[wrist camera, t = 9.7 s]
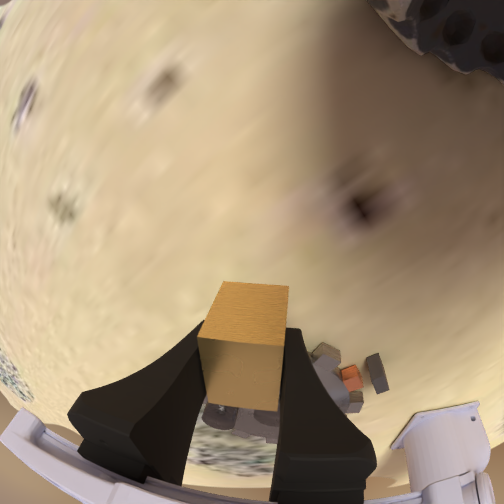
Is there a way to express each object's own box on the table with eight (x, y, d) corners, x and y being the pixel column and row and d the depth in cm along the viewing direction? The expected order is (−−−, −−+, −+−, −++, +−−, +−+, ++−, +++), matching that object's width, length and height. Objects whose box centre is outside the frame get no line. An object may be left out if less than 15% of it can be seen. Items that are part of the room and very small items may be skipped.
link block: (223, 281, 13) (197, 336, 9) (288, 285, 13) (284, 346, 9) (227, 345, 15) (208, 402, 11) (283, 350, 14) (277, 411, 11)
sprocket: (242, 301, 18) (226, 350, 14) (396, 376, 19) (408, 420, 15) (176, 398, 24) (160, 435, 20) (297, 445, 25) (295, 480, 21)
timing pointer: (372, 372, 20) (377, 394, 18) (366, 357, 19) (371, 380, 17) (383, 367, 19) (389, 389, 17) (378, 352, 19) (384, 375, 17)
